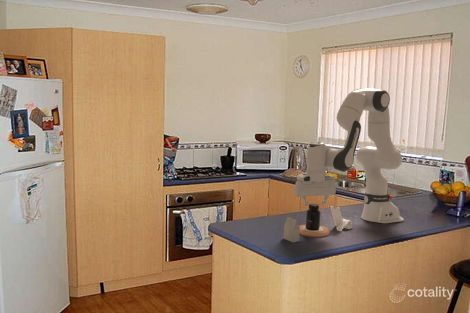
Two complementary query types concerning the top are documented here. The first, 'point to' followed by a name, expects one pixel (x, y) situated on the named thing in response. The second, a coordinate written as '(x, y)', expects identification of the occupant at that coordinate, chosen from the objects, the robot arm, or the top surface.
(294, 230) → the tea bag
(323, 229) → the peach rimmed plate
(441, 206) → the top surface
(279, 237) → the top surface
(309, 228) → the supplement bottle
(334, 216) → the plastic part
